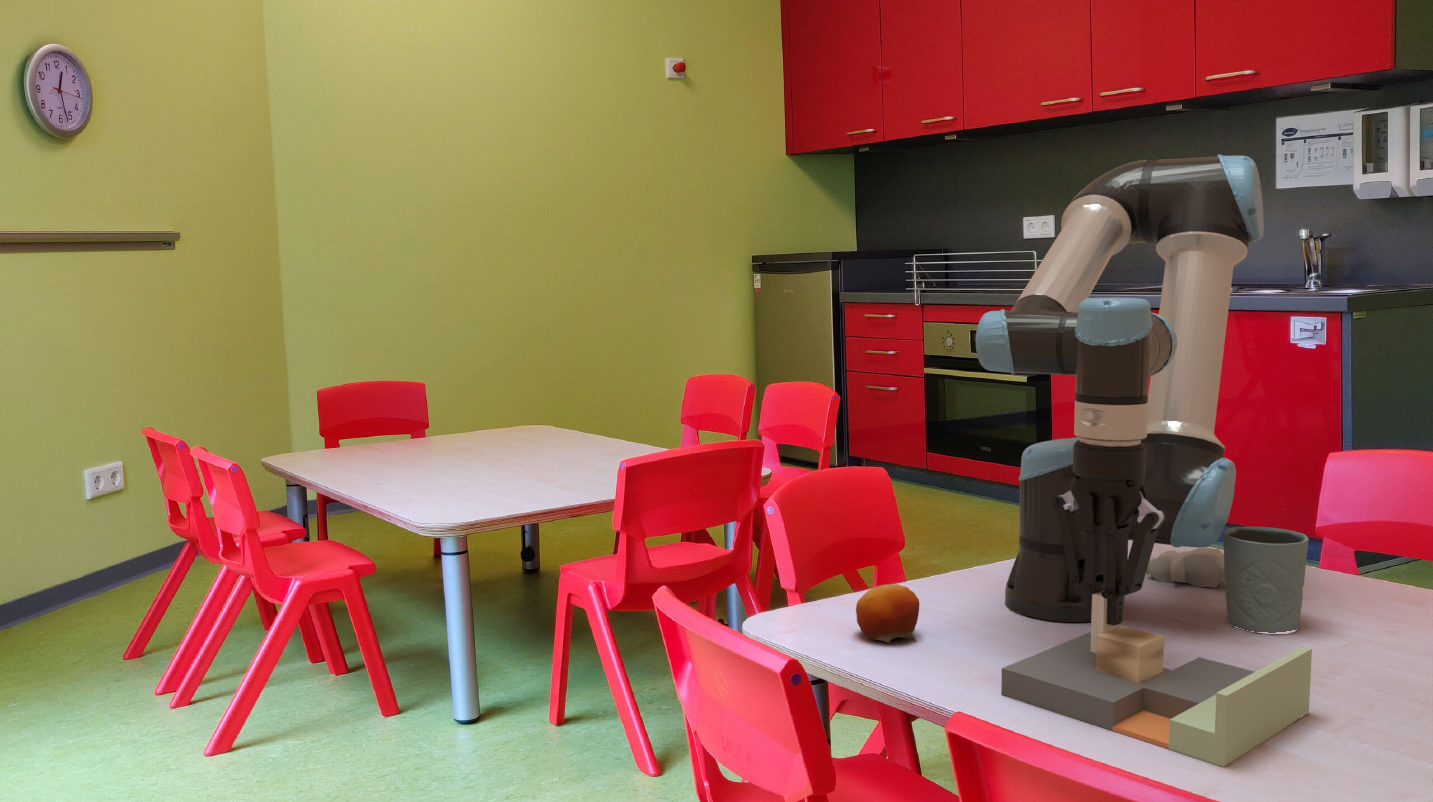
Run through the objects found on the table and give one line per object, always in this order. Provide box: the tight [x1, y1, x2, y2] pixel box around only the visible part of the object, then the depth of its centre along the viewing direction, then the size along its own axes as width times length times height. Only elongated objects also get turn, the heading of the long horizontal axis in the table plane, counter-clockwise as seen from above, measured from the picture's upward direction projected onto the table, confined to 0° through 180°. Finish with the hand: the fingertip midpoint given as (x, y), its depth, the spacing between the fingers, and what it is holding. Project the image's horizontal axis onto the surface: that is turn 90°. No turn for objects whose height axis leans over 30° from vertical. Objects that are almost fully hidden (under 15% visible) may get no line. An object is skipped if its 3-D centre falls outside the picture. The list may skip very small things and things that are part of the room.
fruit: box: [855, 583, 920, 645], centre depth 147 cm, size 8×8×8 cm
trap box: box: [1000, 631, 1313, 768], centre depth 124 cm, size 25×19×7 cm
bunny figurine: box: [1146, 547, 1226, 589], centre depth 169 cm, size 10×5×15 cm
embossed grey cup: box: [1222, 526, 1309, 633], centre depth 149 cm, size 10×10×12 cm
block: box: [1096, 625, 1165, 683], centre depth 125 cm, size 5×5×4 cm
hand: (1103, 650), depth 128 cm, fingers closed
